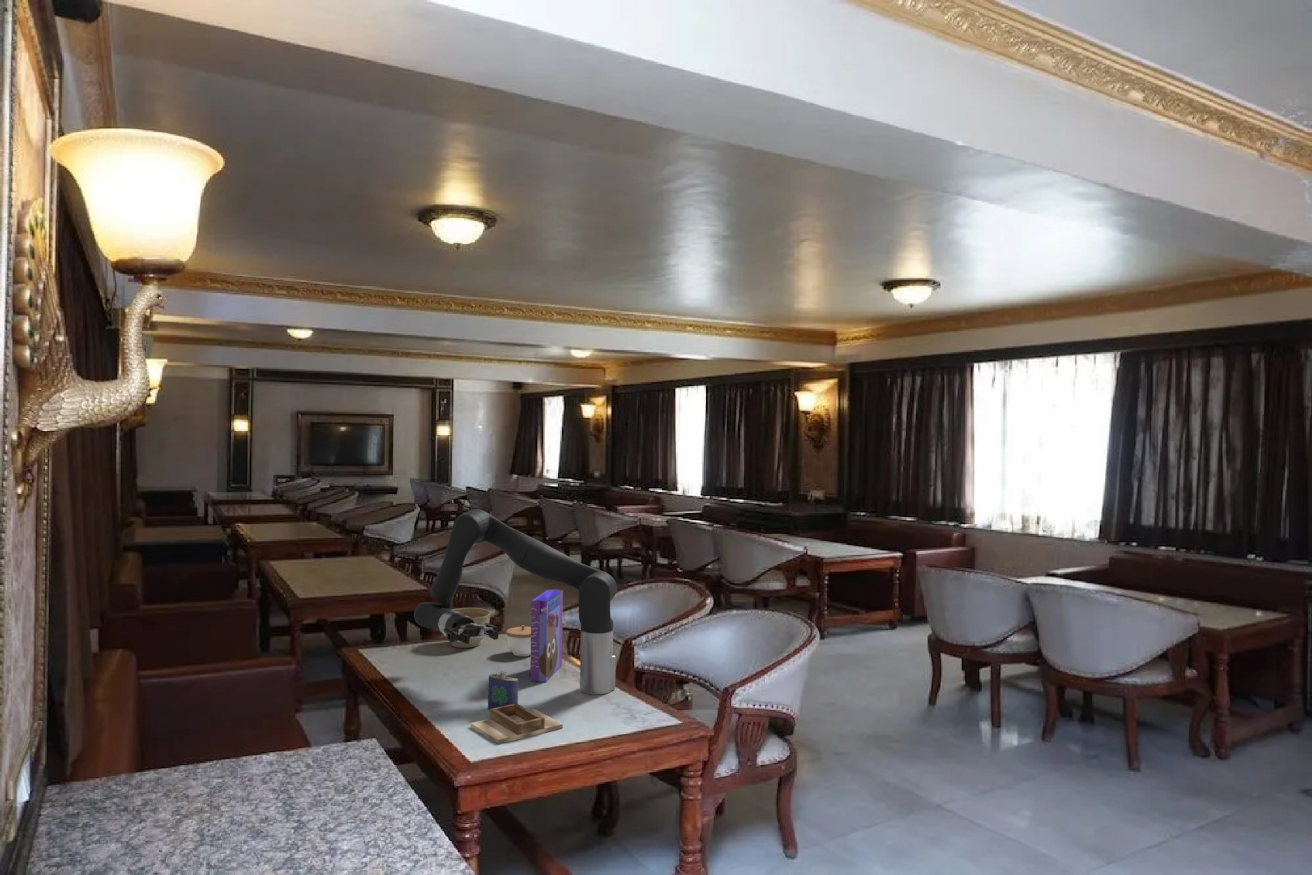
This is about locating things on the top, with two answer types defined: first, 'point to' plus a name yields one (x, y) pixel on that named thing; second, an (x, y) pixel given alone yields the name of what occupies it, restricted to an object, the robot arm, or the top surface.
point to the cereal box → (546, 635)
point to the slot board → (514, 723)
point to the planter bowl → (478, 617)
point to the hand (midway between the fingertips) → (482, 638)
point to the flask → (502, 690)
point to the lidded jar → (519, 640)
